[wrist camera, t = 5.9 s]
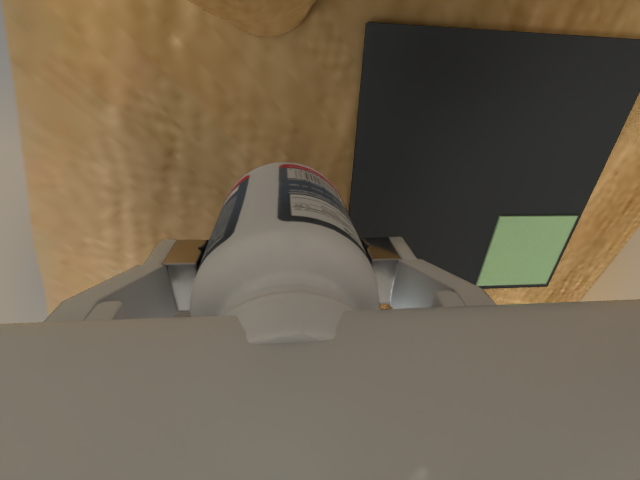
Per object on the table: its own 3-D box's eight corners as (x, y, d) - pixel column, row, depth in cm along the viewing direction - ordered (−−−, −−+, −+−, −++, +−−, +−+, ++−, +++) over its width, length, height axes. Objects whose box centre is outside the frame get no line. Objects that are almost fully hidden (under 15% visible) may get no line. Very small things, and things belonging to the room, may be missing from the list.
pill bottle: (251, 278, 15) (219, 494, 8) (203, 181, 13) (81, 360, 5) (355, 248, 15) (429, 440, 7) (327, 143, 12) (398, 270, 5)
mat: (365, 22, 19) (368, 21, 18) (657, 41, 21) (667, 40, 20) (341, 290, 28) (342, 295, 28) (544, 284, 30) (549, 287, 30)
